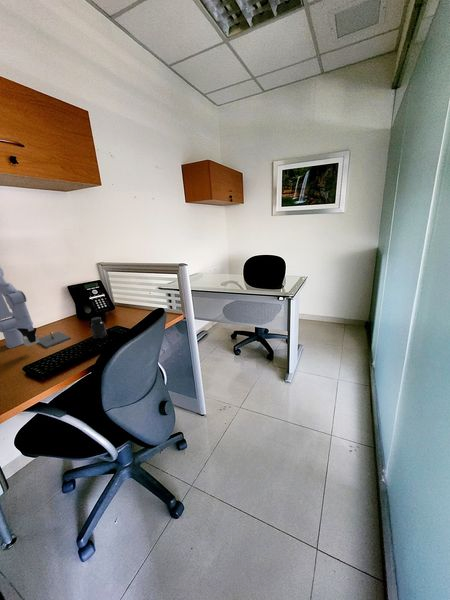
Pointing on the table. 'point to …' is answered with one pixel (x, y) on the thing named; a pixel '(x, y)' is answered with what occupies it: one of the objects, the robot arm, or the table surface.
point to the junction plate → (53, 339)
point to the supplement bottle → (98, 328)
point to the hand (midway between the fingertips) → (31, 340)
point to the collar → (29, 342)
